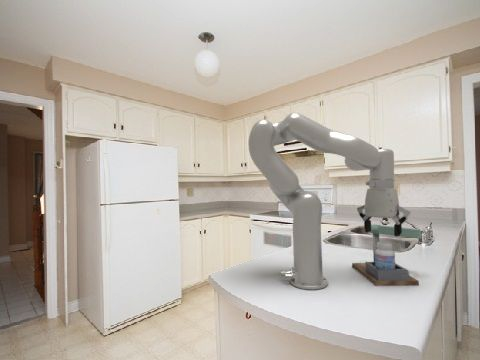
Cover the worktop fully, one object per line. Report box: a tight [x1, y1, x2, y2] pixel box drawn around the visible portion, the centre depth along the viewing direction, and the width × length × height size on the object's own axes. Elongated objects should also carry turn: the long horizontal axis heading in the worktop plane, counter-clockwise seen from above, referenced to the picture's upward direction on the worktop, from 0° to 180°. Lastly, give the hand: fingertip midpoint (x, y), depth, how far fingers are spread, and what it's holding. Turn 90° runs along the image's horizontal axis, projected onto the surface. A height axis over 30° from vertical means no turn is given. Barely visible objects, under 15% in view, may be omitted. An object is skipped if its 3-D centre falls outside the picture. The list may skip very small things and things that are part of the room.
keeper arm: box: [369, 223, 422, 239], centre depth 98 cm, size 17×4×3 cm, turn 39°
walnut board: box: [351, 262, 420, 287], centre depth 95 cm, size 14×20×2 cm
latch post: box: [372, 233, 381, 262], centre depth 103 cm, size 2×2×12 cm
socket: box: [364, 261, 409, 281], centre depth 90 cm, size 10×10×4 cm
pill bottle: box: [375, 241, 396, 269], centre depth 90 cm, size 6×6×11 cm
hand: (382, 233), depth 91 cm, fingers open, 9 cm apart
